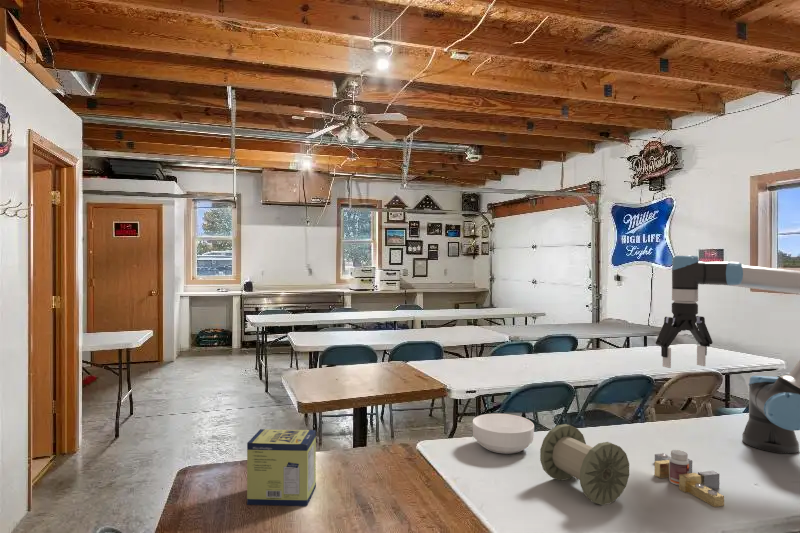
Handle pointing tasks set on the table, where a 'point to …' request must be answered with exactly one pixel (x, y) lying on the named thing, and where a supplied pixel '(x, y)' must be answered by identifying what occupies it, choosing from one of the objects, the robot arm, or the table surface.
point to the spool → (585, 463)
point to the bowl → (503, 432)
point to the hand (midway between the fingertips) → (684, 366)
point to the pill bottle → (678, 465)
